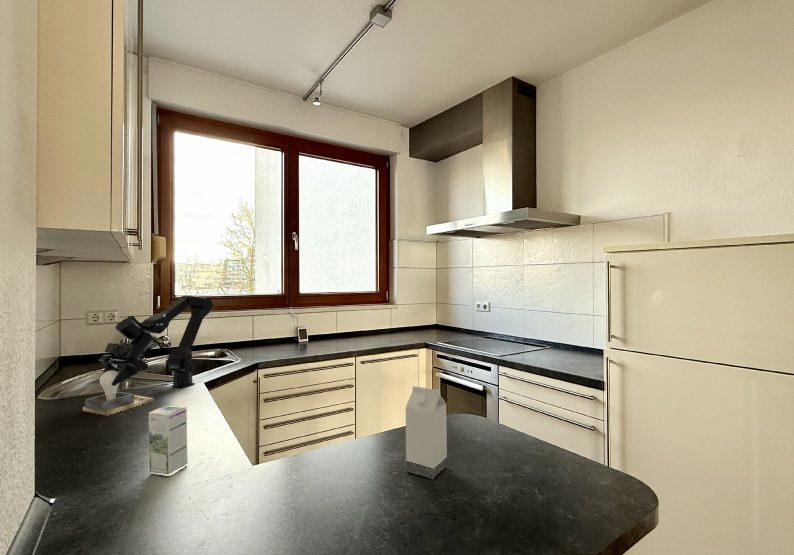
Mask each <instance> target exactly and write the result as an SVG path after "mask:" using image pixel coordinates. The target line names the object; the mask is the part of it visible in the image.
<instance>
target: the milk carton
mask: <svg viewBox="0 0 794 555" xmlns="http://www.w3.org/2000/svg"><path fill="white" fill-rule="evenodd" d="M411 388H412V391H411V393H410V396H409V398H408V400H407V403H406V405H405V462H406V461H409V462H413V463H416V464H420V465H423V466H426V467H430V468H433V469H434V468H435V467H436V466H438V464H440V463H441V462H442V461H443V460H444V459H445V458H446V457H447V458H448V452H447V451H448V448H447V446H448V441H447V440H448V439H447V438H448V437H447V402H446V401H445V400H444V398H443V397H442V396H441V390H440V389H434V388H427V387H420V386H412V387H411Z"/></svg>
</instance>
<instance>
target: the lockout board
mask: <svg viewBox="0 0 794 555" xmlns="http://www.w3.org/2000/svg"><path fill="white" fill-rule="evenodd" d="M115 396H116V397H115V399H112V400H108V401H106V395H105V393H103V394H100V395H95V396H92V397H88V398H85V399H84V400H85V402H84V404H85V405H84V407H82V412H85V411H86V413H90V412H91V414H95V413H96V415H100V414H101V415H102V416H105V415H106V417H107V416H111V415H114V414H117V412H118V413H120V411H121V412H125V411H127V410H130V408H131V409H133V407H134V408H136V406H137V407H140V406H143V405H142V404H144V405H145V404H146V403H147V404H149V402H150V403H153V402H154V397H149V396H142V395H136V394H134V393H130V392H123V391H118V390H117V391H116V395H115ZM147 404H146V405H147ZM139 405H140V406H139ZM110 414H111V415H110Z"/></svg>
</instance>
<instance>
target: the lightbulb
mask: <svg viewBox="0 0 794 555" xmlns="http://www.w3.org/2000/svg"><path fill="white" fill-rule="evenodd" d="M118 373H119V372H117V371H107V372H105V373H104V374H103V373H102V374H103V375H102V374H101V376H100V377H99V382H100V383H99V385H100V386H101V387H102V389H103V390H104V394H105V395H106V401H108V400H112V399H115V397H116V396H115V395H116V391H118V387H119V385H120V383H121V382H120V383H118V384H117V385H115V386H113V385H112V382H113V381H114V379H115V378H116V376H117V375H118Z"/></svg>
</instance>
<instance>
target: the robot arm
mask: <svg viewBox="0 0 794 555" xmlns="http://www.w3.org/2000/svg"><path fill="white" fill-rule="evenodd" d="M213 306H214V303H213V300H212V299H211V298H209V297H198V296H197V297H196V296H193V295H181V296H180V297H179V298H178V300H176V301H175V302H173V303H172V304H171V305H169V306H168V307H167V308H165V309H164V310H162V312H159V313H158V314H157V313H156V314H154V315H152V316H149V317H147V318H145V319H144V320H143V321H142V322H140V321H138V319H137V318H136V317H135V316H134V315H129V316H128V317H126V318H124V319H122V320H121V321H119V322H117V324H116V325H115V331H118V333H120V335H122V336H123V337H124V338H126V339H127V340H130V342H126V341H125V342H124V341H123V342H120V344H119V343H113V342H108V343H107V344H106V347H105V349H104V352H105V353H109V354H103V355H101V356H100V357H99V359H98V361H99V362H100V363H102V365H103V366H104V370H103V373H102V374H101V376H102V375H103V374H104V373H105V372H107V371H117V372H118V375H117V376H116V378H115V379H114V381H113V382H112V385H113V386H115V385H117V384H118V383H122V382H124V381H125V380H127V379H129V378H130V377H133V376H135V375H138V374H139V373H146V372H147V371H148V369H149V364H148V363H146V361H145V360H143V359H142V358H141V357H144V356H145V355H146V353H145V352H146V350H147V348H148V347H149V346H150V345H151V344H155V345H156V344H158V337H157V335H156V334H162V333H163V332H164V331H165V330H166V329H167V328H168V327H169V325H170V322H171V321H172V320H173V319H175V318H177V317H178V316H179V315H180V314H181V313H182V312H184V311H185V310H186V309H187V308H190V309H189V312H190V315H191V316H190V317H189V320H188V322H187V325H186V327H185V329H184V332H183V335H182V337H181V339H180V342H179V345H178V346H177V347H176V348H171V349H170V351H169V355H168V356H167V357H166V358H167V361H166V362H167V365H168V367H169V370H170V372H172V373H173V376H172V384H171V386H172V387H173V388H179V389H184V388H187V387H190V385H191V386H193V384H194V385H196V383H195V382H193V372H194V371H196V369H197V365H196V364H195V363H194V362H193V360H192V358H193V353H192V348H193V345H194V343H195V340H196V337H197V335H198V332H199V330H200V328H201V325H202V323H203V320H204V318H205V317H206V316H208V314H210V312H211V311H212V309H213ZM152 334H155V335H156V336H154V335H152ZM119 368H120V369H119ZM98 383H99V384H100V381H99V382H98ZM171 386H170V387H171ZM172 387H171V388H172Z"/></svg>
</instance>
